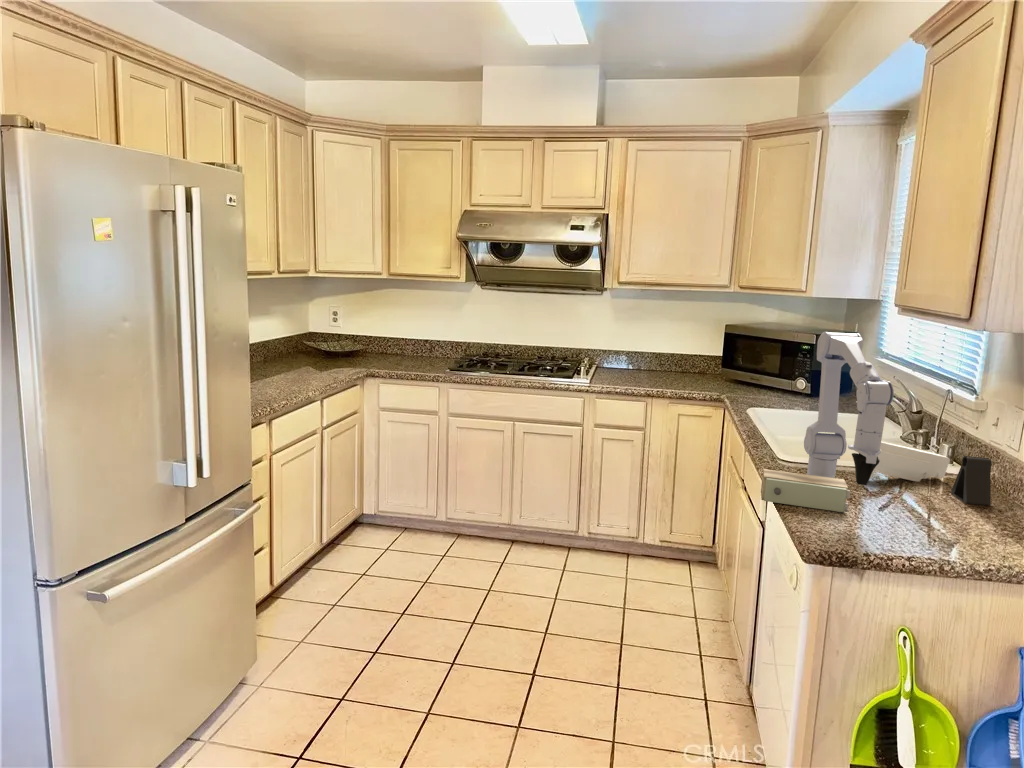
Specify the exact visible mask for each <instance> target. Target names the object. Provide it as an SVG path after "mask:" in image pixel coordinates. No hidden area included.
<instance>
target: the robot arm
mask: <svg viewBox="0 0 1024 768" xmlns="http://www.w3.org/2000/svg"><path fill="white" fill-rule="evenodd" d="M816 344H817V346H816V347H817V348H816V361H818V362H820V363H821V372H820V373H821V375H820V387H819V401H818V414H817V420H816V421H815V422H814V423H812V424H810V425H809V426H807V427H806V431H805V436H804V439H803V448H804V451H805V452H806V454H807V455H809V456H808V463H807V470H806V475H814V476H822V477H830V478H835V477H836V472H837V465H838V460H840V459H841V457H842V456H844V454H845V453H846V452H847V448H848V450H851V451H854V452H852V453H851V456H852V459H853V462H854V463H853V464H854V470H855V471H854V472H855V480H856V484H857V485H863V486H867V485H868V483H869V480H870V479H871V478H870V476H871V474H872V472H873V470H874V468H875V467H876V466H877V465H878V464H879V462H880V460H879V459H878V455H879V454H880V453H881V449H880V447H881V442H882V440H883V434H884V433H883V432H884V426H885V419H886V412H887V406H891V404H892V403H893V400H894V395H895V393H894V390H895V389H894V386H893V384H892V382H891V381H887V380H886V379H882V378H881V376H880V375H879V372H878V371H877V369H876V367H875V366H874V365H873V363H872V362H869V361H866V357H864V354H863V347H864V346H863V345H864V340H863V337H862V336H861V334H860V333H858V332H855V333H848V332H847V333H845V332H831V331H830V332H828V331H823V332H822V333H821V334H820V336H819V338H818V340H817V343H816ZM845 364H848V366H849V367H850V370H849V376H850V378H851V380H852V381H853V384H854V385H855V387H856V393H855V394H856V396H855V397H856V400H857V401H856V410H857V411H858V414H857V422H856V427H855V428H856V429H855V434H854V442H853V444H847V437H846V430H845V429H844V428H843V427H842V426H841V425H839V424H838V416H839V402H840V400H839V399H840V389H841V385H840V384H841V375H842V367H843V366H844V365H845ZM847 445H848V446H847Z"/></svg>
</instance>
